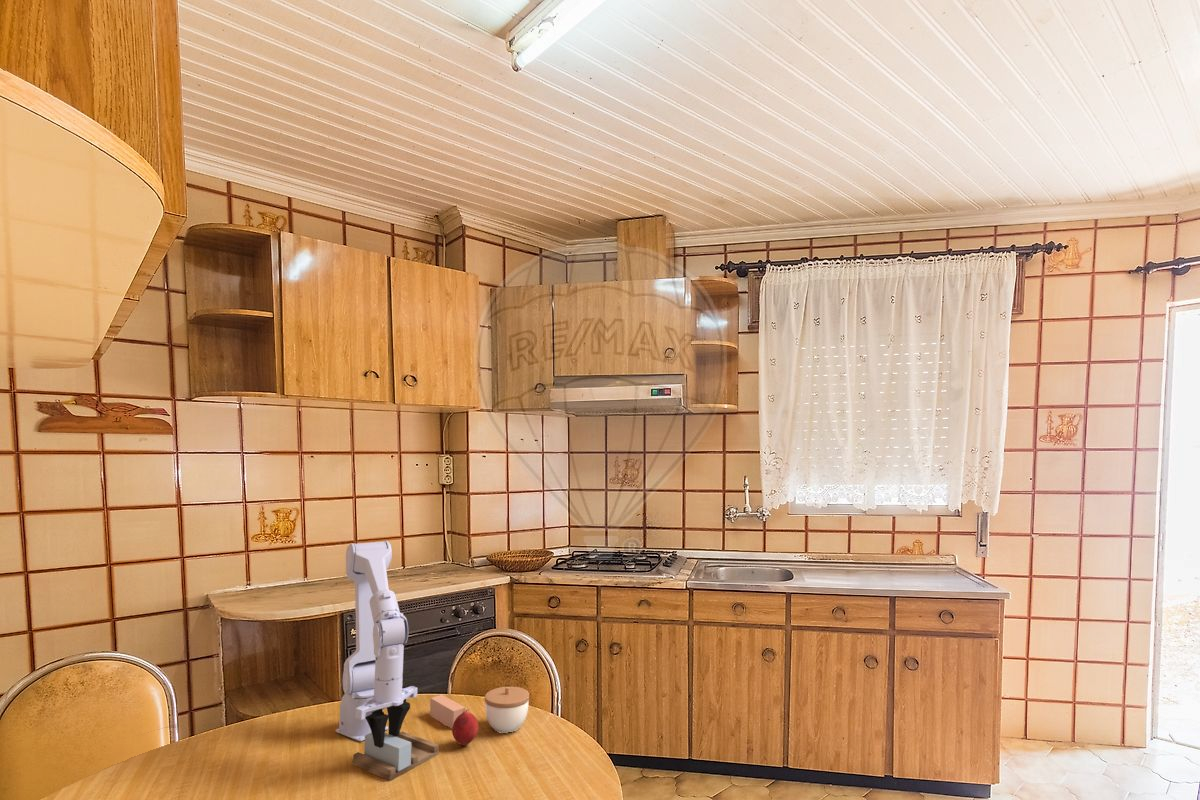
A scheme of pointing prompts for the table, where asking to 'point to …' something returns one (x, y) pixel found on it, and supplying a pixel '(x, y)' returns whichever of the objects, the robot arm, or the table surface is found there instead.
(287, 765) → the table surface
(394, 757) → the grey-blue block
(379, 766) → the walnut rack
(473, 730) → the onion
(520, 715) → the lidded jar
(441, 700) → the salmon pink block
